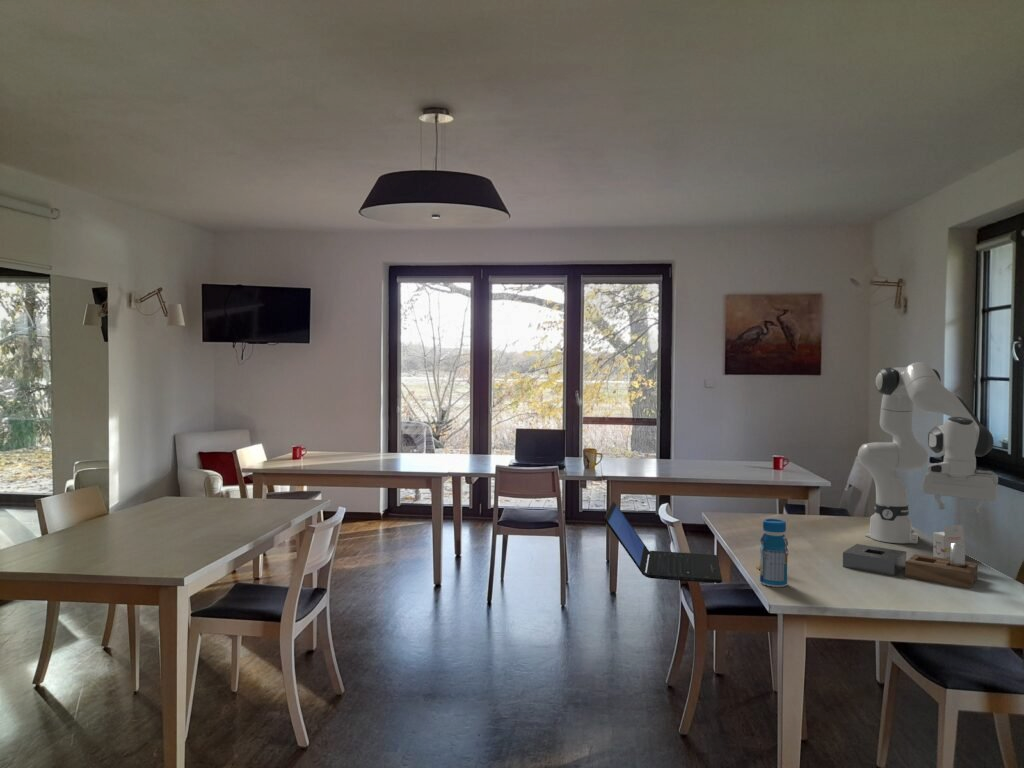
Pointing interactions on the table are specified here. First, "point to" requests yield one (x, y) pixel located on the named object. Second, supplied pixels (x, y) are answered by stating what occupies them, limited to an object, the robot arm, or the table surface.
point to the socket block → (874, 559)
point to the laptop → (662, 555)
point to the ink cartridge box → (946, 540)
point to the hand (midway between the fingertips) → (958, 511)
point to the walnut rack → (940, 571)
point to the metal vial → (957, 554)
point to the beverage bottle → (774, 553)
